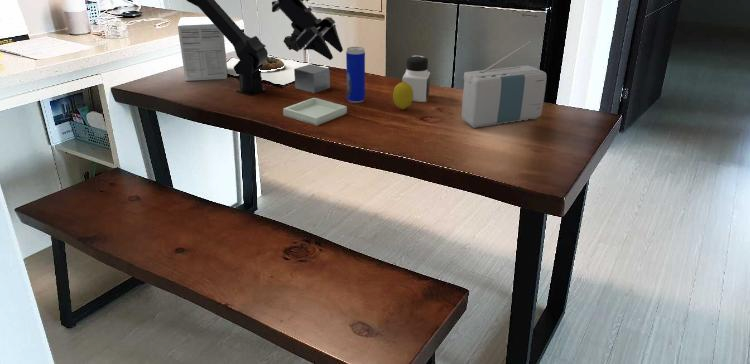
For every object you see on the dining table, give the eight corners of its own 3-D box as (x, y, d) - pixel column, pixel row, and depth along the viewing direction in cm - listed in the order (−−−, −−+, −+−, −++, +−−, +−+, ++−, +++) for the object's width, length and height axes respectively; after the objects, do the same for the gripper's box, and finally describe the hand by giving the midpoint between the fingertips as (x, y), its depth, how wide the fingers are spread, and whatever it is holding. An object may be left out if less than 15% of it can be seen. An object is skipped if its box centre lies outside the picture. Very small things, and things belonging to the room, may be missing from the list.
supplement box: (227, 79, 181) (221, 23, 173) (185, 81, 178) (176, 25, 170) (227, 68, 192) (222, 15, 184) (187, 70, 189) (180, 17, 182)
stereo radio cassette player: (473, 131, 142) (480, 52, 133) (457, 120, 148) (463, 44, 139) (542, 121, 148) (553, 45, 140) (523, 111, 155) (533, 38, 146)
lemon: (415, 108, 157) (416, 80, 153) (408, 114, 152) (409, 85, 149) (397, 105, 159) (397, 77, 155) (389, 111, 154) (389, 82, 151)
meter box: (295, 88, 172) (294, 68, 170) (311, 82, 178) (310, 64, 175) (314, 93, 168) (313, 73, 165) (330, 87, 173) (330, 68, 171)
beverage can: (346, 97, 164) (345, 46, 158) (364, 97, 165) (364, 46, 158) (347, 103, 160) (346, 50, 153) (365, 103, 160) (365, 50, 153)
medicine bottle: (426, 102, 161) (428, 61, 156) (401, 100, 163) (403, 59, 157) (429, 95, 168) (431, 54, 162) (405, 93, 169) (406, 53, 163)
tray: (283, 115, 150) (283, 108, 150) (314, 104, 159) (314, 97, 158) (316, 125, 144) (316, 118, 143) (346, 113, 152) (346, 106, 152)
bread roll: (250, 73, 187) (249, 57, 186) (254, 68, 198) (253, 54, 196) (284, 73, 188) (284, 58, 187) (286, 69, 199) (286, 55, 197)
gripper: (292, 26, 167) (328, 65, 170) (266, 39, 151) (307, 82, 153) (316, 0, 162) (353, 40, 164) (292, 10, 146) (334, 55, 148)
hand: (336, 55), depth 158 cm, fingers open, 9 cm apart
